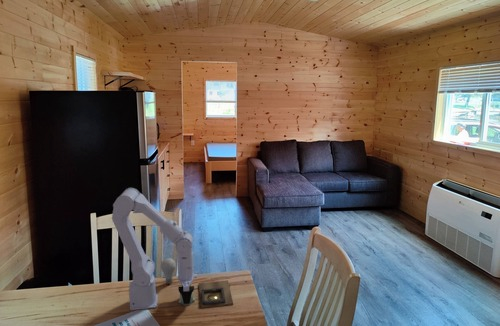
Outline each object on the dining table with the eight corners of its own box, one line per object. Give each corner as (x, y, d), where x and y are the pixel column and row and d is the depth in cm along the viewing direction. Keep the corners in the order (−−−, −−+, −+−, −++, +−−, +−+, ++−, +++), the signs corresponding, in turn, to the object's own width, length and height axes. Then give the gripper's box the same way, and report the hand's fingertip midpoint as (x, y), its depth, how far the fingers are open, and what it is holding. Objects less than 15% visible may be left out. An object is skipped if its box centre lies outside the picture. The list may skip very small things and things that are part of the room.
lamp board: (200, 308, 133) (200, 306, 133) (198, 284, 148) (198, 283, 148) (233, 304, 135) (233, 303, 135) (227, 281, 150) (227, 280, 150)
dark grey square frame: (202, 305, 134) (202, 302, 133) (201, 292, 142) (201, 289, 141) (225, 302, 135) (225, 299, 135) (222, 290, 143) (222, 287, 143)
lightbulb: (168, 289, 145) (167, 264, 142) (158, 284, 148) (157, 259, 146) (179, 282, 149) (178, 258, 147) (170, 277, 153) (168, 254, 151)
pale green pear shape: (178, 306, 134) (178, 294, 133) (179, 298, 138) (178, 287, 137) (195, 304, 135) (194, 292, 134) (194, 297, 140) (194, 285, 138)
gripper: (197, 274, 127) (198, 308, 130) (195, 255, 141) (196, 286, 144) (176, 276, 126) (178, 310, 129) (177, 256, 140) (178, 287, 143)
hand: (186, 297), depth 136 cm, fingers open, 6 cm apart
